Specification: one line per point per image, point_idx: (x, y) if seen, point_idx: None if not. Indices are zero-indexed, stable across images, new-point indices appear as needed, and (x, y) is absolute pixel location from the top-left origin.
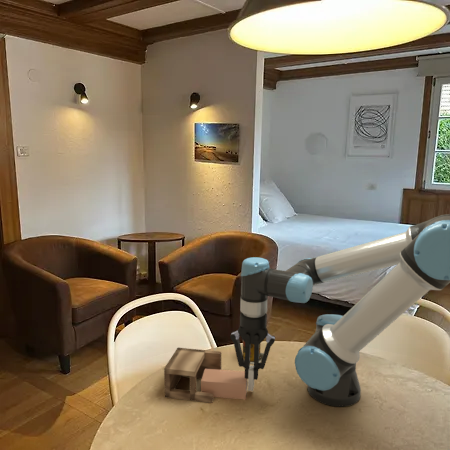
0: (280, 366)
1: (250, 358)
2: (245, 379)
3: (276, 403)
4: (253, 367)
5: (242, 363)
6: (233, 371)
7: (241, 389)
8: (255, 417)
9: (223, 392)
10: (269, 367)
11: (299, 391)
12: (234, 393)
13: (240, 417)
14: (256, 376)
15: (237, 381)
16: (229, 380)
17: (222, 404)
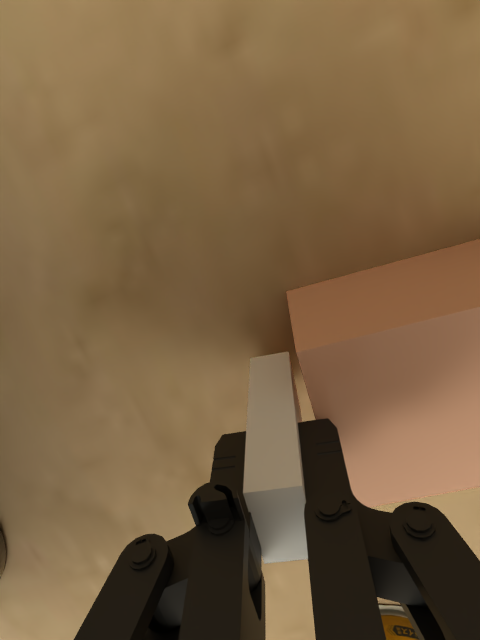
0: None
1: None
2: (324, 413)
3: (77, 327)
4: (267, 540)
5: (399, 547)
6: (461, 479)
7: (329, 315)
8: (134, 104)
9: (474, 260)
10: None
11: (18, 476)
12: (379, 283)
13: (244, 45)
14: (224, 457)
15: (388, 363)
16: (470, 349)
17: (442, 157)
